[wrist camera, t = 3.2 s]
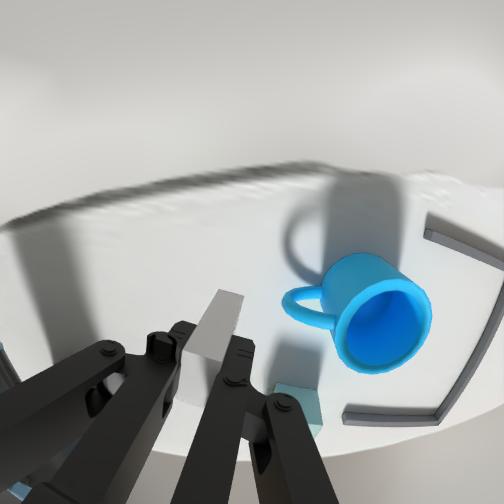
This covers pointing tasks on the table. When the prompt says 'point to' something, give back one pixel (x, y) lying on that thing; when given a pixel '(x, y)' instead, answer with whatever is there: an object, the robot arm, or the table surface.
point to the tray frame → (499, 311)
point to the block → (305, 404)
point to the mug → (367, 313)
